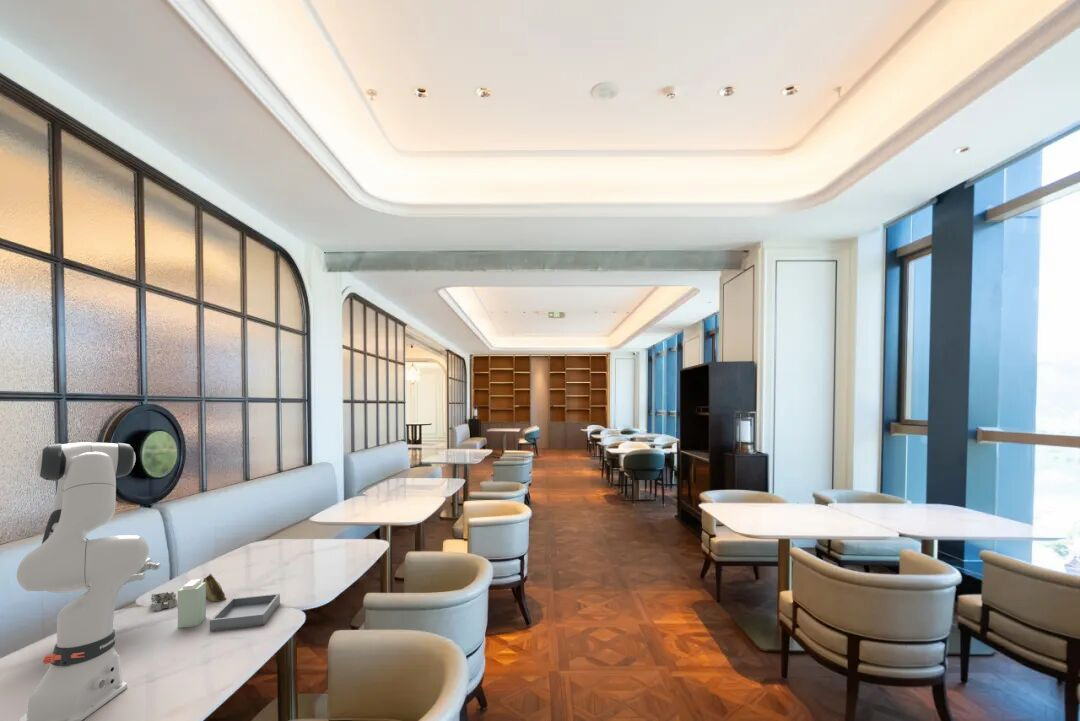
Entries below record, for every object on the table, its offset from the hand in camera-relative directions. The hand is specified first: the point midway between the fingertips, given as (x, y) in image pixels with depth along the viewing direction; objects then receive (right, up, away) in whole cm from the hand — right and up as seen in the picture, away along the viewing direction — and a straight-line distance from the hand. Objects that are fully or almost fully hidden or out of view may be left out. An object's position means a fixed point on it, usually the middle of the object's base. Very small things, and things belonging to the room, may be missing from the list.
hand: (152, 571), depth 173 cm
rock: (+7, -19, +22) cm, 30 cm away
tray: (+29, -17, +4) cm, 34 cm away
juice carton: (+13, -18, +1) cm, 22 cm away
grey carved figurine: (-9, -20, +17) cm, 28 cm away
